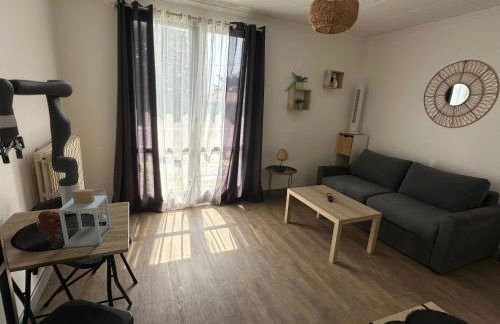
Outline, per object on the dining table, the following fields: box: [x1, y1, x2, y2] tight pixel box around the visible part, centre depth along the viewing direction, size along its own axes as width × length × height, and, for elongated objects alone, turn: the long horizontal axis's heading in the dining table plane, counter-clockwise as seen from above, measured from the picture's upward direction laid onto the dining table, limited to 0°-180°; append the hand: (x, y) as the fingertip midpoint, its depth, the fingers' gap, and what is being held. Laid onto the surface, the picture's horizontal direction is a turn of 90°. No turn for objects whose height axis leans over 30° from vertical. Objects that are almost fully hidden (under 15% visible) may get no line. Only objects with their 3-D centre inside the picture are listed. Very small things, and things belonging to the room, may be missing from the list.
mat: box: [61, 224, 114, 249], centre depth 126 cm, size 18×16×1 cm
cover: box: [58, 188, 112, 245], centre depth 122 cm, size 15×15×24 cm
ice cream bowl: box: [35, 210, 62, 243], centre depth 121 cm, size 11×11×15 cm
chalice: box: [92, 187, 107, 223], centre depth 139 cm, size 7×7×18 cm
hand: (13, 161), depth 115 cm, fingers open, 8 cm apart
